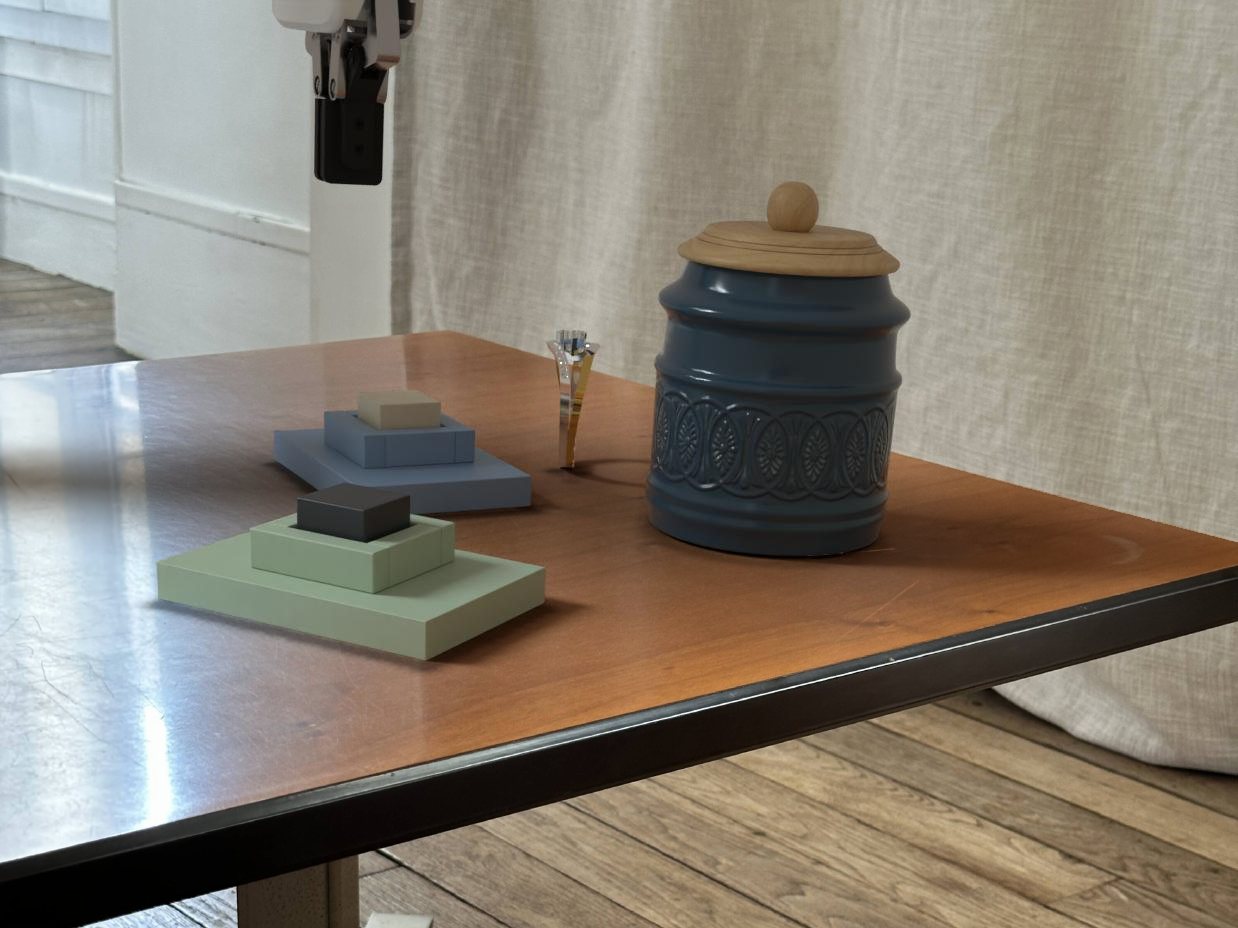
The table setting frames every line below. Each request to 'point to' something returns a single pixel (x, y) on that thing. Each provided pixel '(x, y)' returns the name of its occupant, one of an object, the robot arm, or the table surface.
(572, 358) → the ring
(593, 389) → the table surface
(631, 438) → the table surface
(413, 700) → the table surface
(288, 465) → the blue stepped base
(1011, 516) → the table surface
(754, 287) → the canister
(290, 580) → the stepped pedestal base
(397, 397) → the key
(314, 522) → the key
